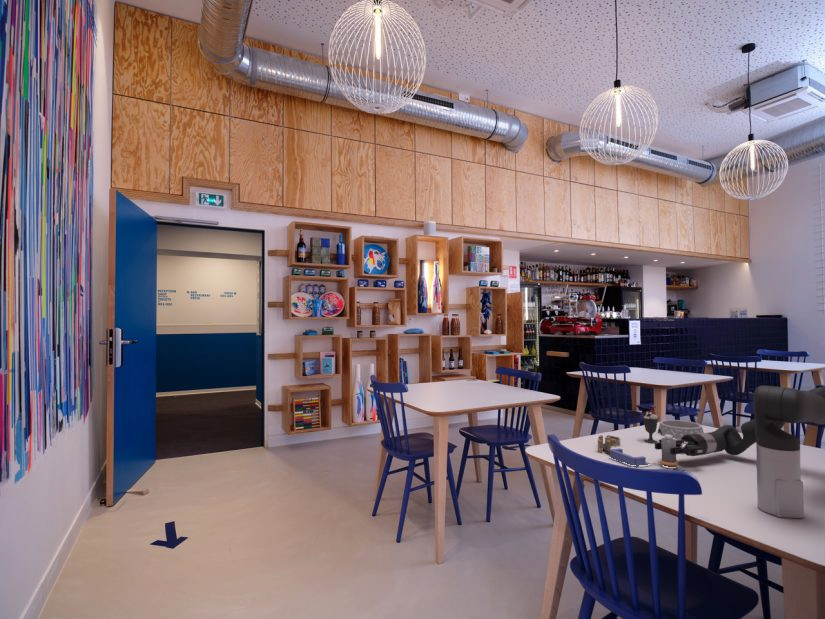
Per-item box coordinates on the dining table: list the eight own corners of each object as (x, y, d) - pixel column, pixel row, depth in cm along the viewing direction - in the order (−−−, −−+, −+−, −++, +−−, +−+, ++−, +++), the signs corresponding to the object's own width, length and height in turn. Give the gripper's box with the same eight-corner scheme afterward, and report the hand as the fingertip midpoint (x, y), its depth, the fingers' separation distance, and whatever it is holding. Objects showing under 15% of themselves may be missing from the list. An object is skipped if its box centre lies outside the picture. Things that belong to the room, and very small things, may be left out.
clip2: (611, 447, 181) (610, 436, 181) (608, 449, 179) (608, 438, 179) (600, 446, 184) (600, 435, 184) (598, 447, 181) (598, 436, 181)
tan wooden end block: (609, 442, 188) (609, 434, 188) (620, 445, 185) (620, 436, 185) (605, 444, 186) (604, 436, 186) (615, 446, 182) (615, 438, 182)
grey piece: (680, 469, 155) (679, 437, 155) (664, 469, 155) (664, 436, 156) (673, 464, 160) (672, 433, 160) (658, 464, 160) (657, 433, 161)
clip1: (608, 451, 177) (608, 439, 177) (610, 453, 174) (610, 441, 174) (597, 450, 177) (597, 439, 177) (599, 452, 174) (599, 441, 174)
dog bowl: (666, 440, 194) (665, 427, 194) (653, 429, 211) (653, 418, 211) (710, 442, 190) (710, 429, 190) (694, 431, 207) (694, 419, 208)
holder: (625, 456, 170) (625, 447, 170) (651, 465, 159) (651, 456, 159) (609, 458, 167) (609, 449, 167) (634, 468, 156) (634, 458, 156)
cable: (611, 454, 170) (611, 451, 170) (601, 453, 172) (601, 450, 172) (613, 444, 185) (613, 441, 185) (603, 443, 186) (603, 440, 186)
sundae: (662, 444, 186) (661, 407, 186) (644, 443, 187) (644, 407, 187) (657, 440, 192) (656, 404, 192) (640, 439, 194) (639, 404, 194)
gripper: (718, 460, 156) (681, 466, 150) (680, 449, 169) (646, 453, 164) (717, 438, 156) (681, 443, 150) (680, 429, 169) (646, 433, 164)
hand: (663, 448), depth 157 cm, fingers open, 5 cm apart
